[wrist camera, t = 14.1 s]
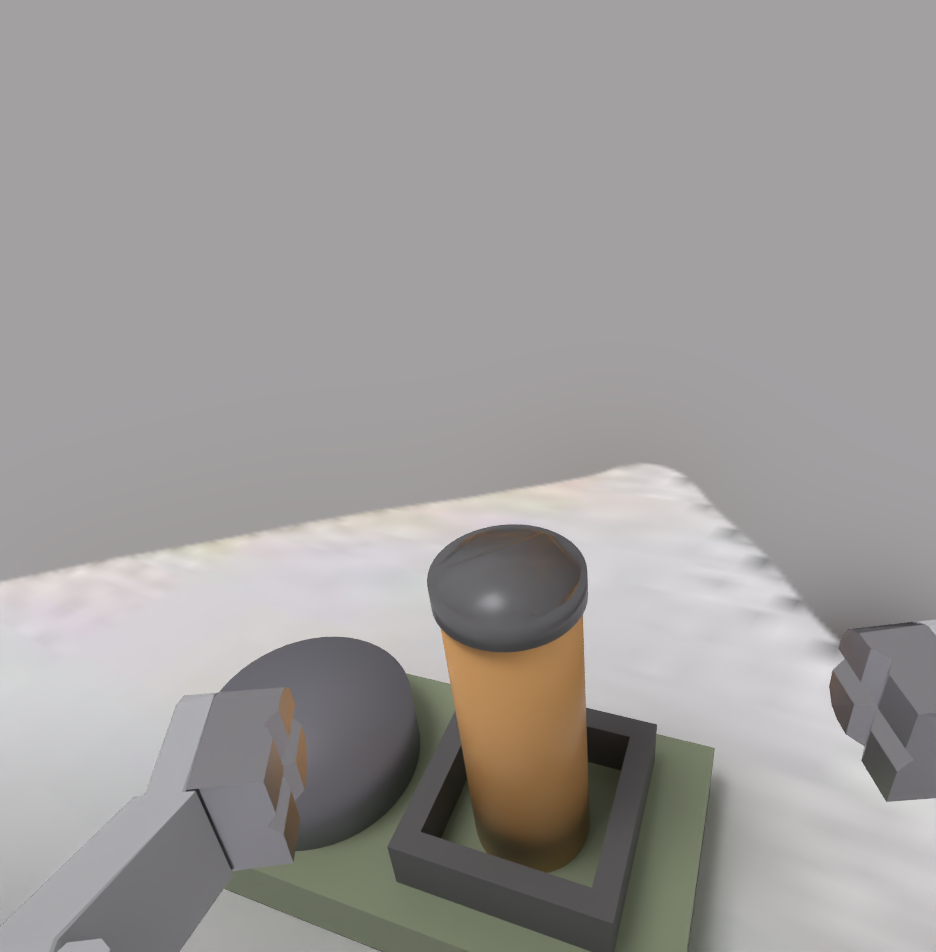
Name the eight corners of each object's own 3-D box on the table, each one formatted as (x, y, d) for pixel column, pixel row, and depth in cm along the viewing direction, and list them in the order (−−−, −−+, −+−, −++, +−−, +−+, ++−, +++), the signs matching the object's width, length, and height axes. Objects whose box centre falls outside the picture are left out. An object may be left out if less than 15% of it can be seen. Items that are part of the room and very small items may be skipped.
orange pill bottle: (452, 856, 31) (400, 611, 24) (494, 752, 35) (462, 516, 28) (576, 896, 29) (562, 643, 22) (606, 781, 33) (603, 535, 26)
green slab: (161, 863, 35) (118, 785, 32) (297, 680, 45) (274, 605, 42) (671, 1067, 27) (680, 988, 24) (709, 788, 36) (719, 704, 33)
